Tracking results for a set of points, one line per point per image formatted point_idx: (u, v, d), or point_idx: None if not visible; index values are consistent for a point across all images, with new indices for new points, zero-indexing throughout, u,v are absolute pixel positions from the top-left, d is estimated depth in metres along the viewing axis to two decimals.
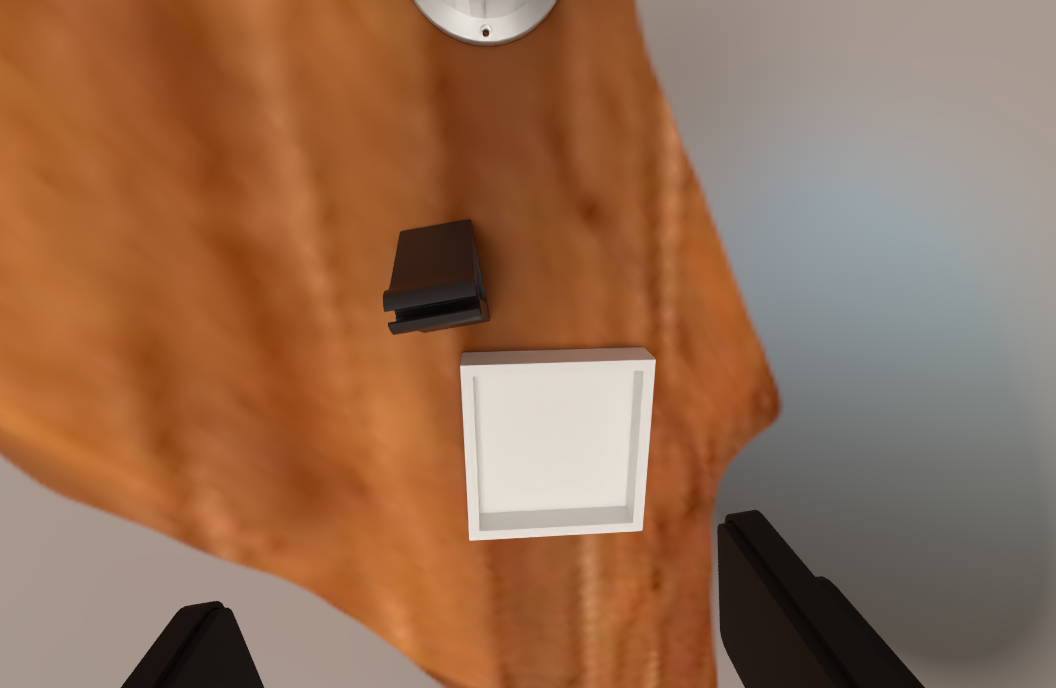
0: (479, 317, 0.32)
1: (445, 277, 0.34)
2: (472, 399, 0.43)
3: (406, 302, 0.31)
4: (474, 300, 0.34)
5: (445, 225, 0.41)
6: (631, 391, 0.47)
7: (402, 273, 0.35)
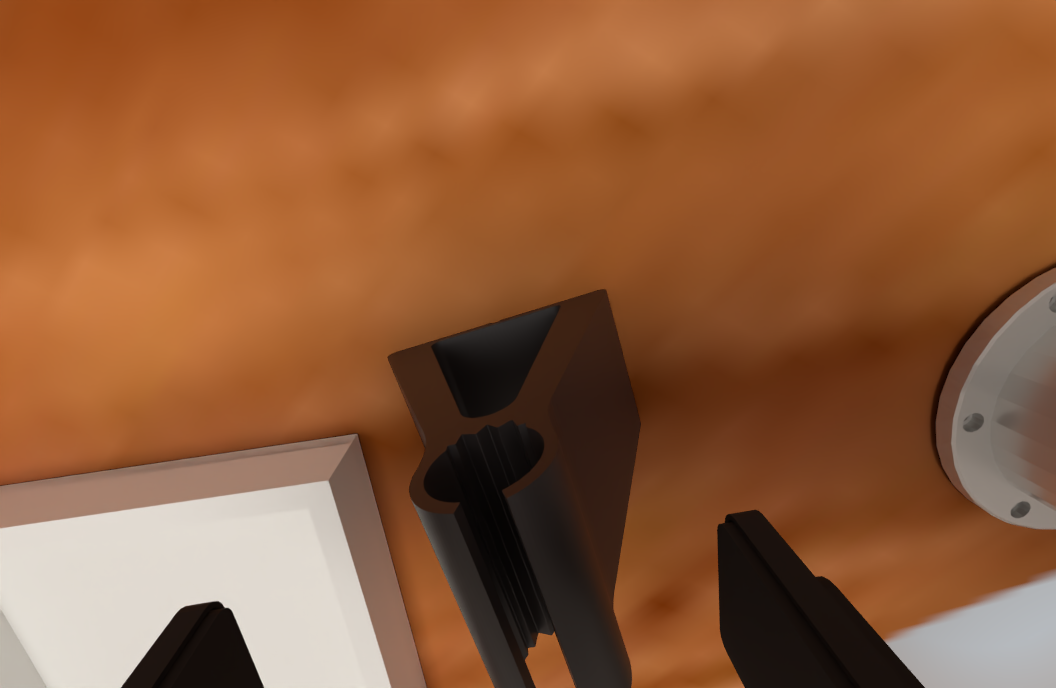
0: None
1: (593, 542, 0.12)
2: (248, 515, 0.18)
3: (548, 558, 0.09)
4: (539, 625, 0.12)
5: (628, 382, 0.20)
6: None
7: (573, 398, 0.13)
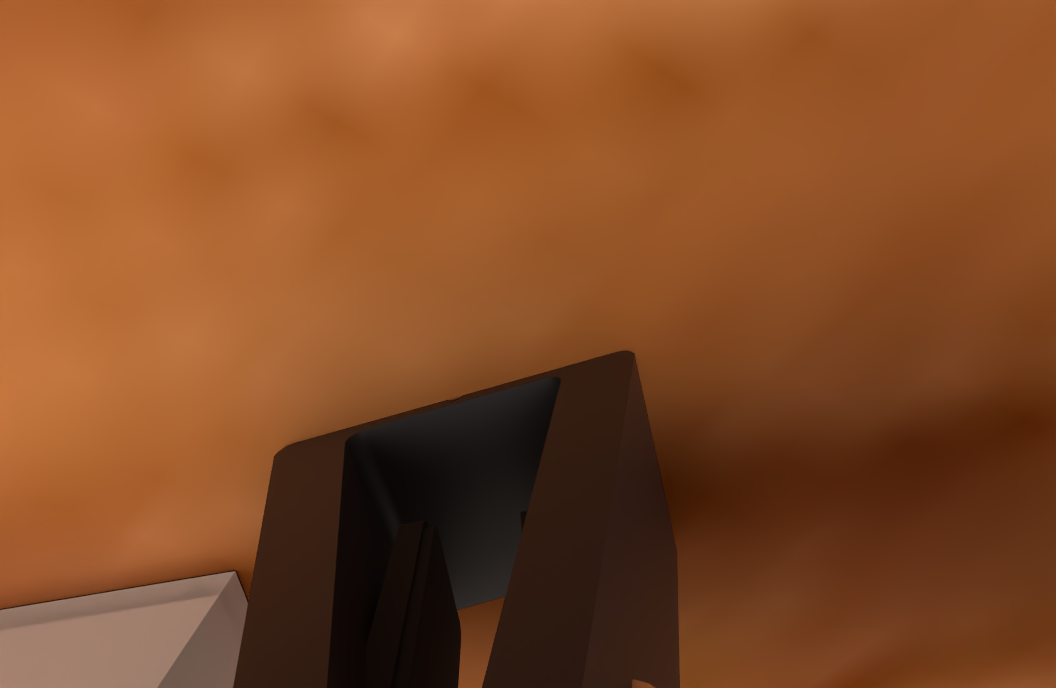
0: None
1: None
2: None
3: None
4: None
5: (663, 495, 0.13)
6: None
7: (607, 677, 0.05)
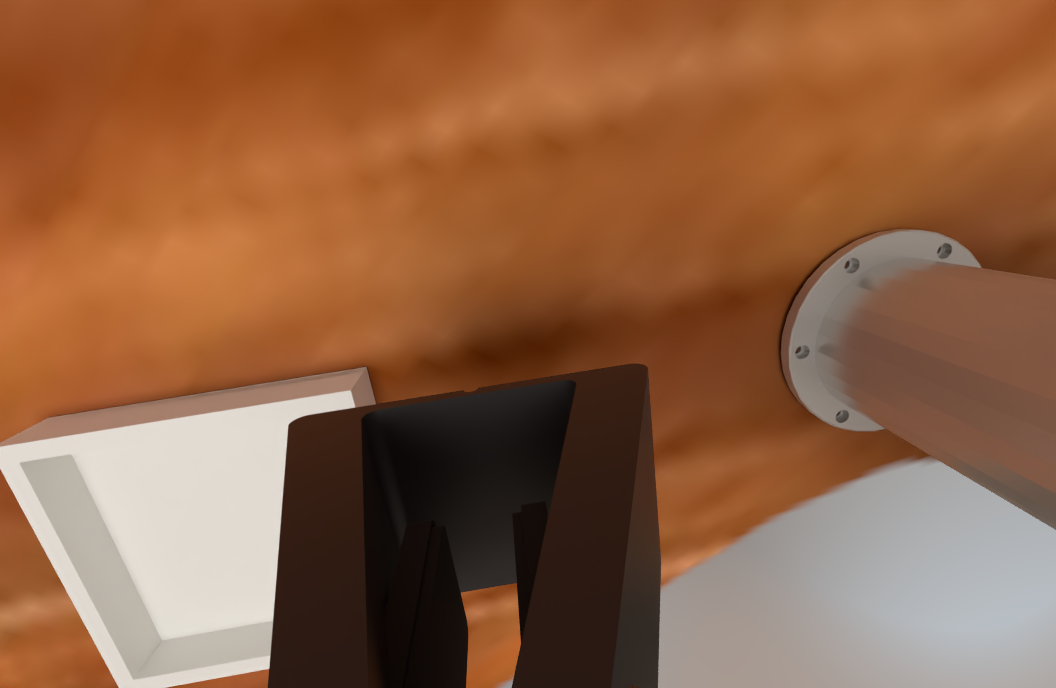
0: None
1: None
2: (293, 416, 0.25)
3: None
4: None
5: (656, 505, 0.13)
6: None
7: (624, 658, 0.06)
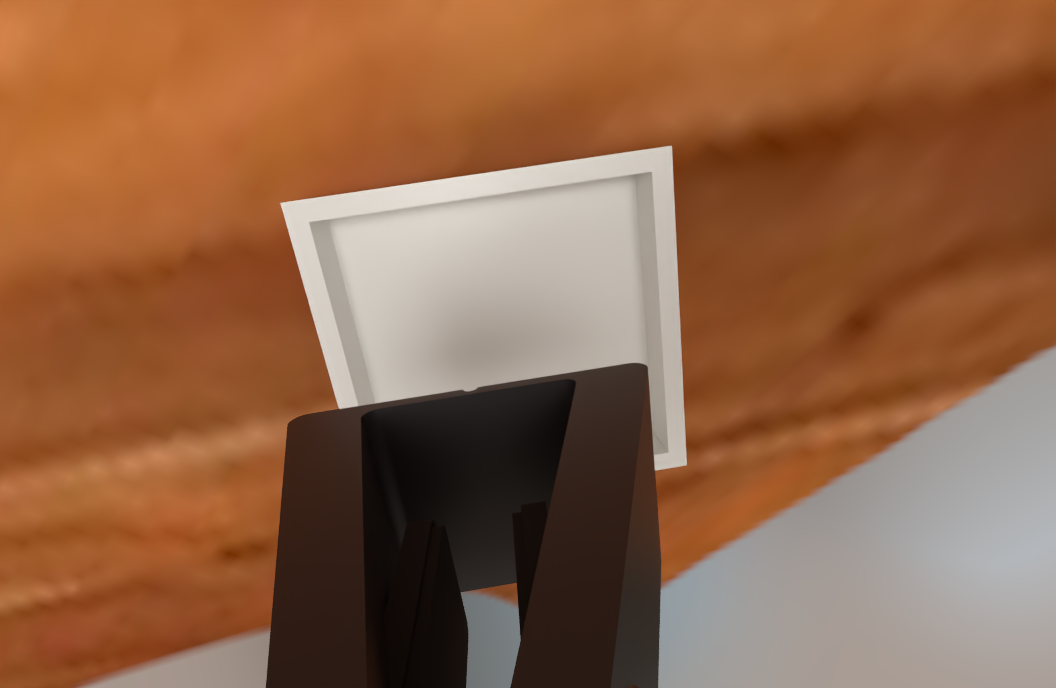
0: None
1: None
2: (606, 176, 0.23)
3: None
4: None
5: (656, 504, 0.13)
6: None
7: (625, 656, 0.06)
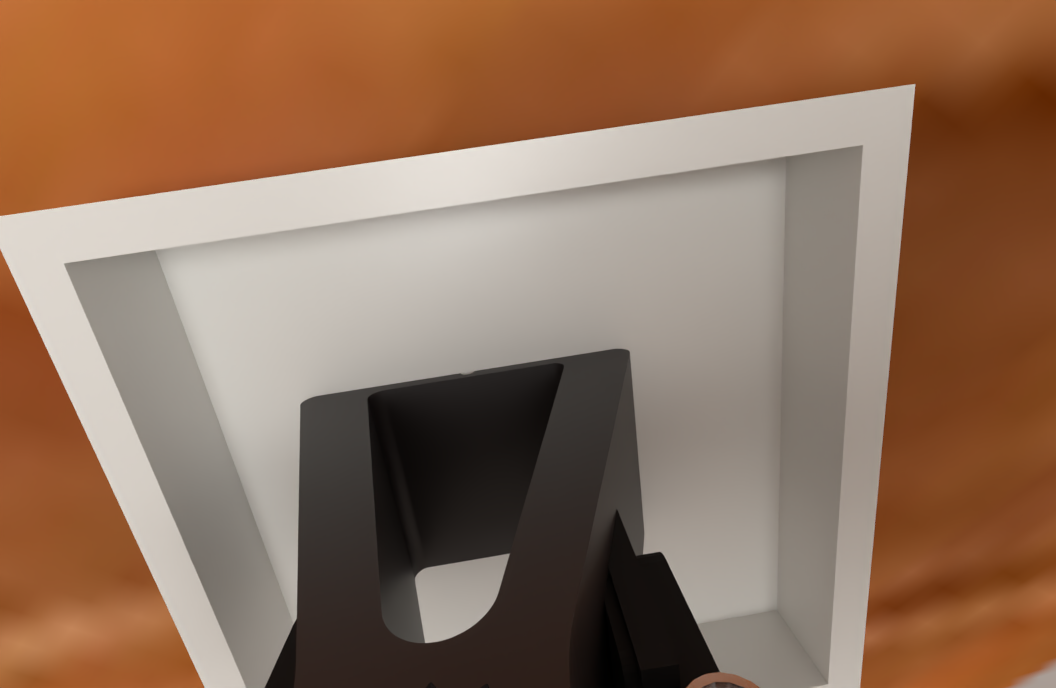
0: None
1: None
2: (760, 156, 0.10)
3: None
4: None
5: (639, 479, 0.14)
6: None
7: (596, 581, 0.07)
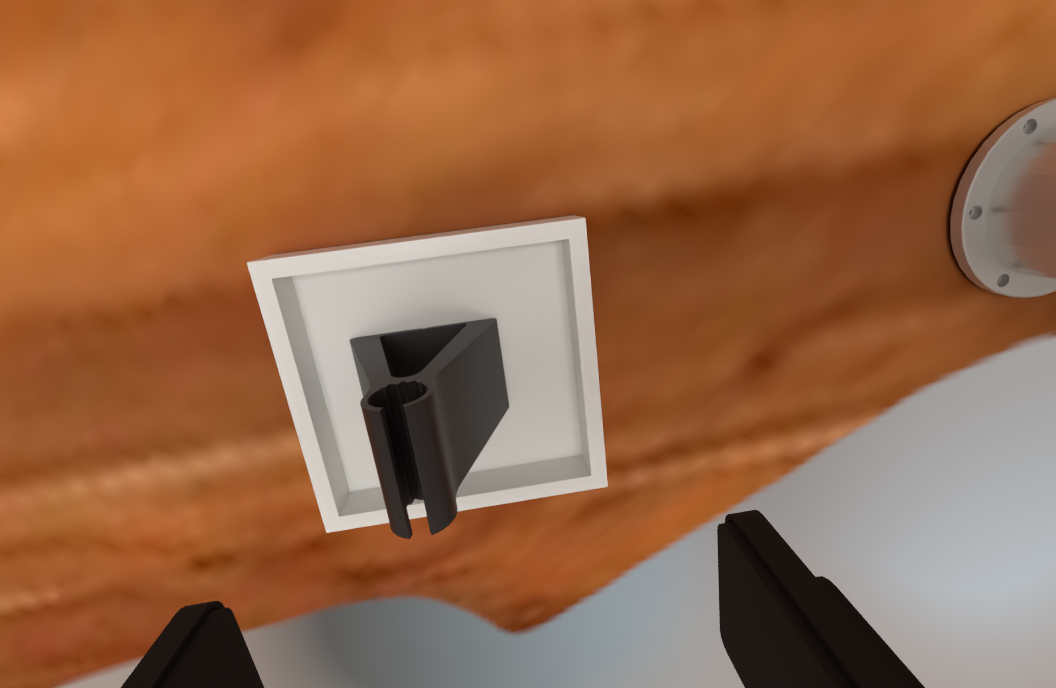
0: (394, 532, 0.21)
1: (450, 452, 0.23)
2: (530, 242, 0.27)
3: (419, 438, 0.19)
4: (416, 494, 0.23)
5: (503, 379, 0.31)
6: (537, 459, 0.34)
7: (453, 376, 0.24)
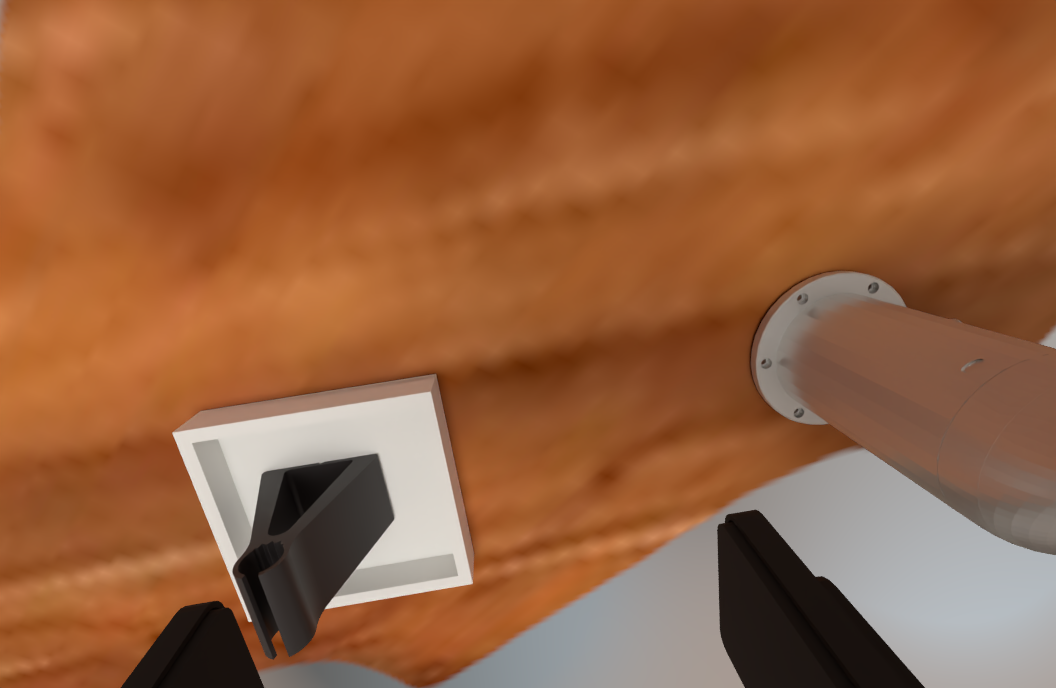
0: None
1: (314, 586, 0.31)
2: (388, 410, 0.35)
3: (272, 594, 0.27)
4: None
5: (386, 500, 0.39)
6: (423, 557, 0.42)
7: (318, 527, 0.32)
